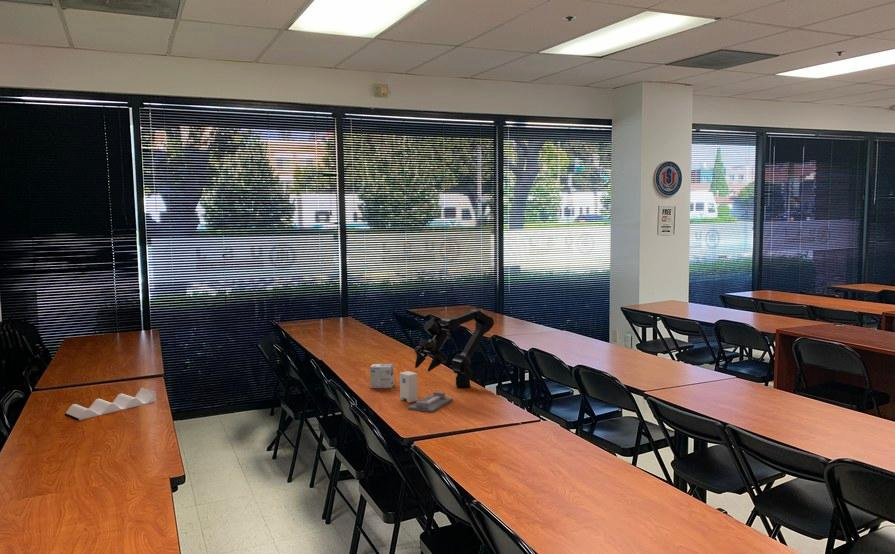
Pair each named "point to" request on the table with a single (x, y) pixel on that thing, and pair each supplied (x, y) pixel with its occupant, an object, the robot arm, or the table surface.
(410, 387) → the block
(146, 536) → the table surface
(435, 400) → the rail plate
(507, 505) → the table surface
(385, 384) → the light bulb box
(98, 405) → the grey zigzag strip
